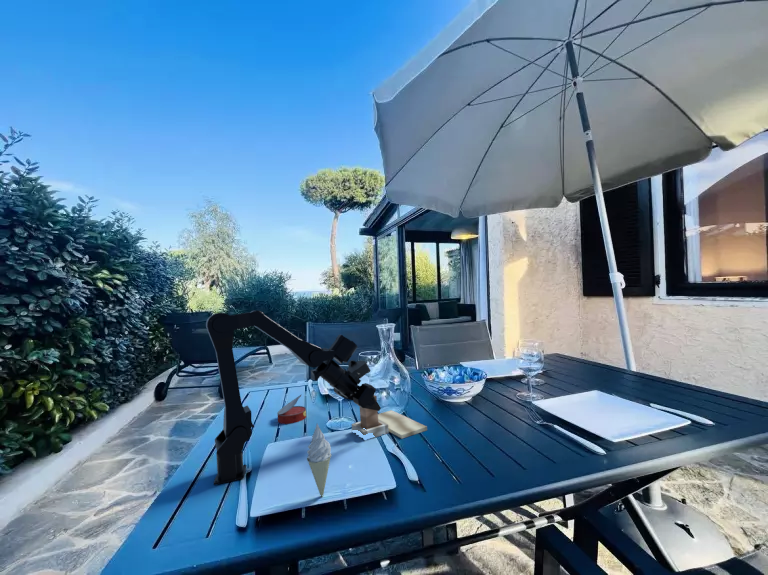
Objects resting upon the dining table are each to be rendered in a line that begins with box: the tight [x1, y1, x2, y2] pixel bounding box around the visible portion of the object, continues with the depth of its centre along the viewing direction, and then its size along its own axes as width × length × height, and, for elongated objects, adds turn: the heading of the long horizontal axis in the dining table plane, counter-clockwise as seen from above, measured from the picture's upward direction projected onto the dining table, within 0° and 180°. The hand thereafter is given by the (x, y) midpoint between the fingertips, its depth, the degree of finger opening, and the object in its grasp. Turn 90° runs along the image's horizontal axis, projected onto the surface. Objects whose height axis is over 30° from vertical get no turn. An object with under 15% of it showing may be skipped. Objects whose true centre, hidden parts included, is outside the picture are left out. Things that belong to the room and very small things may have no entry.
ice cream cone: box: [306, 423, 332, 497], centre depth 69 cm, size 5×5×15 cm
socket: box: [351, 409, 428, 440], centre depth 102 cm, size 18×20×2 cm
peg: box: [359, 394, 379, 430], centre depth 100 cm, size 4×4×11 cm
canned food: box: [276, 394, 307, 425], centre depth 117 cm, size 11×10×10 cm
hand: (372, 405), depth 100 cm, fingers open, 9 cm apart
